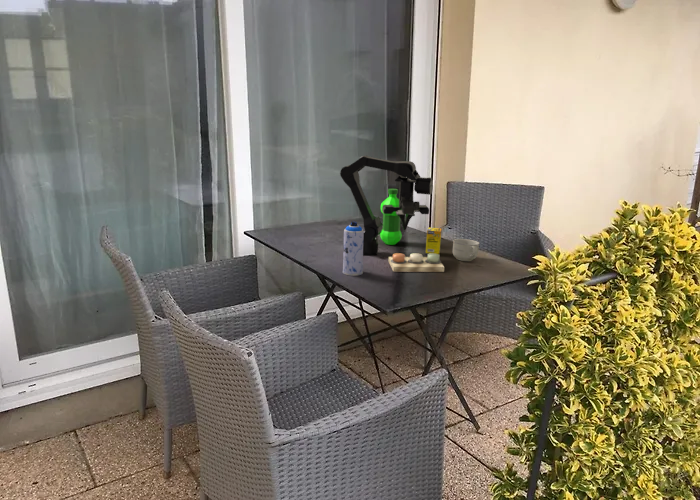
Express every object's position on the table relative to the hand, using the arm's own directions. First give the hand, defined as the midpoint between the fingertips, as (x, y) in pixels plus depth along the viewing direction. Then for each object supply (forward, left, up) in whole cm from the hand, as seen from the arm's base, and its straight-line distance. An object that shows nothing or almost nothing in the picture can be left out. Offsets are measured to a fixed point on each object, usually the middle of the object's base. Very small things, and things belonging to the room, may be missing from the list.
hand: (404, 229), depth 250 cm
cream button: (+3, -13, -10) cm, 16 cm away
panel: (+3, -13, -12) cm, 18 cm away
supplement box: (+14, +6, -12) cm, 20 cm away
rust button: (-4, -13, -10) cm, 17 cm away
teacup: (+26, -4, -12) cm, 29 cm away
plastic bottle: (-2, +23, -12) cm, 26 cm away
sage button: (+10, -13, -10) cm, 19 cm away
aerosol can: (-23, -21, -12) cm, 33 cm away
